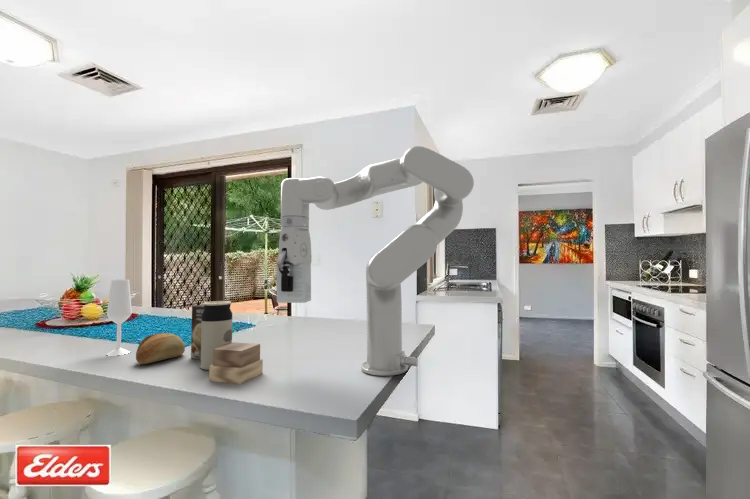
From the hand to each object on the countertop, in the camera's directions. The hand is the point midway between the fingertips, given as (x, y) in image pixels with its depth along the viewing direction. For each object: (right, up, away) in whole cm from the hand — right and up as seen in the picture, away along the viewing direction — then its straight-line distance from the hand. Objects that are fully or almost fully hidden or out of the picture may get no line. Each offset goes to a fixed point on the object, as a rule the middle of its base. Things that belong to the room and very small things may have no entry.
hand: (294, 290), depth 96 cm
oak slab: (-13, -22, -5) cm, 26 cm away
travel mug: (-23, -22, +4) cm, 32 cm away
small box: (0, -3, 0) cm, 3 cm away
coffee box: (-30, -23, +14) cm, 40 cm away
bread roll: (-43, -23, +12) cm, 50 cm away
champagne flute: (-62, -23, +20) cm, 69 cm away
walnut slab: (-13, -18, -5) cm, 23 cm away
